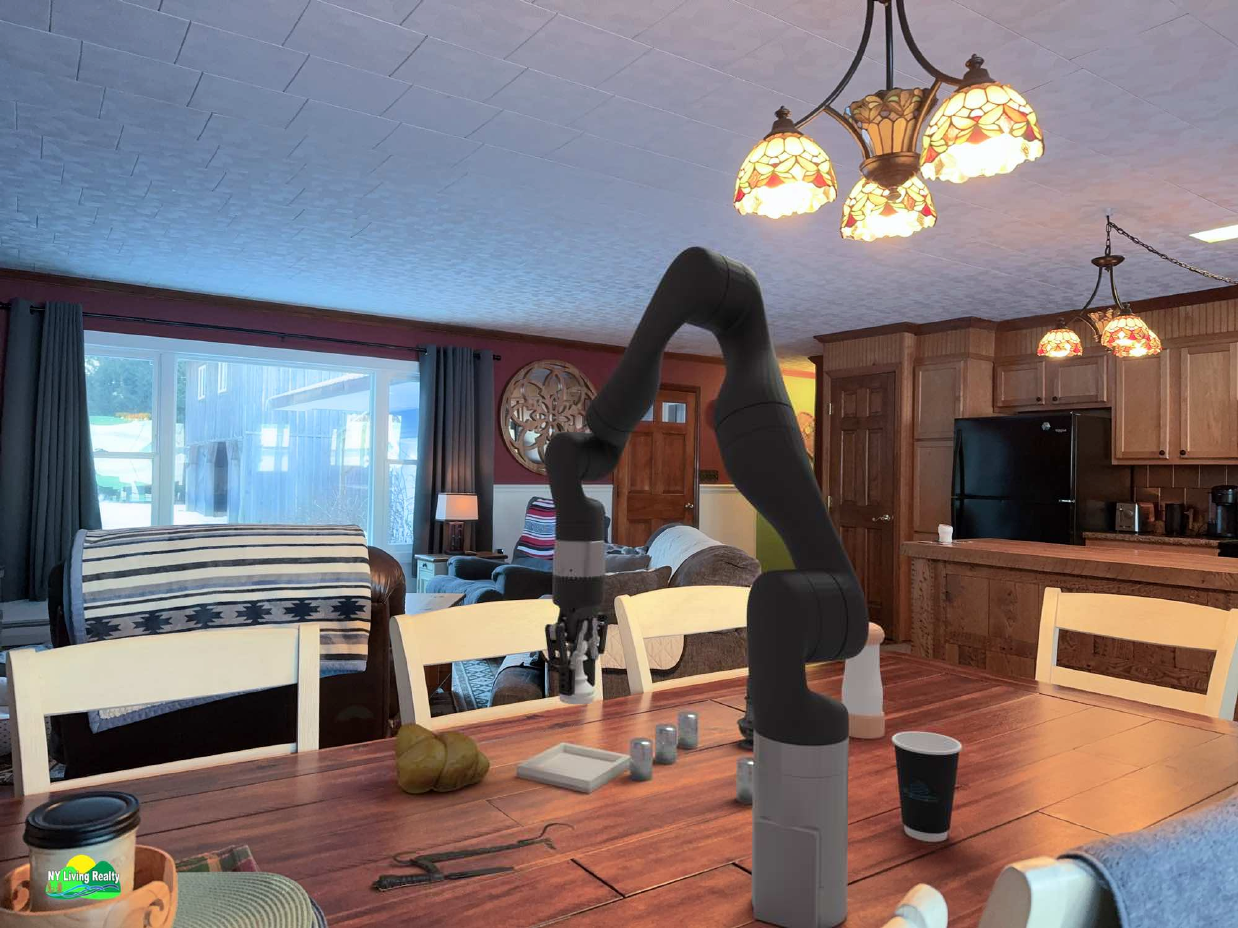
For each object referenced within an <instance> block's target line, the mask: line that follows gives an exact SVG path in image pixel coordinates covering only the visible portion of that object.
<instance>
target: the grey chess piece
mask: <svg viewBox="0 0 1238 928" xmlns="http://www.w3.org/2000/svg"><path fill="white" fill-rule="evenodd" d="M743 698H744V700H745V714H744V717H741V718H738V719H737V721H736V724H737V725H738V730H739V732H740V734H741V736H742V737H743V739H741V740H740V741H738V747H740V748H741V749H745V750H747V751H753V750H754V715H753V709H752V704H751V699H750V693H749V676H748V677H747V679H746V696H744V697H743Z"/></svg>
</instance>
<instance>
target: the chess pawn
mask: <svg viewBox="0 0 1238 928" xmlns="http://www.w3.org/2000/svg"><path fill="white" fill-rule="evenodd" d="M567 645H570V646H573V645H574V644H569V643H567ZM586 651H587V642H586V641H583V643H582V648H581V652H580V653H578V654H577V658H576V663H575V667H574V669H575V693H574V694H573V695H571V696H566V695H561V694H560V693H559V697H558V698H559V701H560V702H561V703H564V704H567V705H586V704H590V703H592V702H594V700H595V687H594V686H593V687H592V686H591V685H590V684H589V683H588V682H587V681H586V680H587V676H586V675H585V674H584V670H583V660H587V657H586V655H584V654H585V652H586ZM569 656H570V654H569V655H568V660H569Z"/></svg>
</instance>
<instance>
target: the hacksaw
mask: <svg viewBox="0 0 1238 928" xmlns="http://www.w3.org/2000/svg"><path fill="white" fill-rule="evenodd" d="M557 824H558V826H559V825H563V826H567V827H570V828H571V829H572V830H573V831H574V830H575V829H574V827H573V826H572V825H569V824H567V823H560V822H559V823H558V822H550V823H548V824H546V825H544V827H543V829H542V832H541V834H540V835H539V836H537V837H533V838H526V839H519V840H517V841H516V842H515V843H508V844H505V845H493V846H489V847H486V846H485V847H479V848H473V849H463V850H458V851H456V850H455V851H448V852H447V851H446V852H442V853H441V852H437V853H436V852H435V853H428V854H421V853H420V852H413V851H404V852H398V853H396V854H394V856H392V859H393V861H394V862H395V863H397V864H401V865H403V864H404V865H406V864H407V865H409V864H410V865H411V866H412V865H415V866H417V867H419V868H423V869H426V870H427V871H428V873H426V872H422V873H414V874H402V875H400V874H398V875H397V874H391V873H390V874H382V875H381V874H380V876H378V879H377V880H373V881H372V883H371V886H372V887H374V888H376V887H377V886H379V887H377V888H378V889H379V888H381V889H388V888H390V887H391V888H393V887H396V886H401V885H406V884H415V883H421V882H428V881H429V882H432V881H437V880H442V879H443V878H448V879H459V878H458V877H461V878H465V877H472V876H480V875H487V874H495V873H503V872H511V871H515V870H516V871H517V869H514V868H516V867H515V866H512V865H511V867H503V866H504V865H503V866H495V867H488V868H481V869H473V870H464V871H458V872H450V873H447V874H444V873H443V872H442V871H441V870H442V869H444V868H445V867H444V866H442V867H440V869H439V868H438V866H437V865H436V864H435V863H434V862H442V861H443V860H444V861H449V860H450V859H451V860H457V858H458V859H464V858H467V857H469V856H470V857H475V856H474V855H476V856H481V855H486V854H493V853H500V852H503V851H504V852H505V851H509V850H515V849H520V847H521V848H524V847H528V846H533V845H537V844H543V843H544V844H545V845H546V846H547V848H549V849H551V850H553V849H554V850H553V851H555V850H556V849H557V847H556V846H555V845H553V844H552V843H554V841H550V840H551V837H545V838H541V837H543V836H544V834H545V833H546V831H547V829H548V828H549V827H552V826H556V825H557ZM546 842H547V843H546ZM548 842H551V843H548ZM556 852H557V853H558V850H557V851H556ZM403 854H418V856H416V857H414V858H409V859H407V860H406V859H405V860H404V859H403V860H402V859H398V858H397V856H399V855H403ZM444 861H443V862H444ZM490 868H491V869H490ZM449 877H451V878H449ZM443 880H444V879H443Z"/></svg>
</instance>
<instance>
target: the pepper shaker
mask: <svg viewBox="0 0 1238 928" xmlns="http://www.w3.org/2000/svg"><path fill="white" fill-rule="evenodd" d="M885 636H886V635H885V631H884V629H883V628H882V627H881V626H880V625H878V624H876V623H874V622H870V621H869V634H868V639H867V642H866V645H865V647H864V648H863V650H862V651H861V652H860V654H858V655H857V656H855V657H853V658H850V659H846V660H845V662H844V663H845V667H844V673H843V678H842V684H841V703H843V704H844V705H845V706H846V708H847V710H848V714H849V737H852V738H857V739H865V740H867V739H869V740H872V739H873V740H874V739H878V738H879V739H881V738H883V737H884V736H885V729H886V728H885V720H886V719H885V718H886V717H885V712H884V711H883V702H884V701H883V700H884V699H883V696H884V689H883V685H882V684H883V683H882V675H881V671H880V647H881V646H880V644H882V642H883V641H884V639H885Z"/></svg>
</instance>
